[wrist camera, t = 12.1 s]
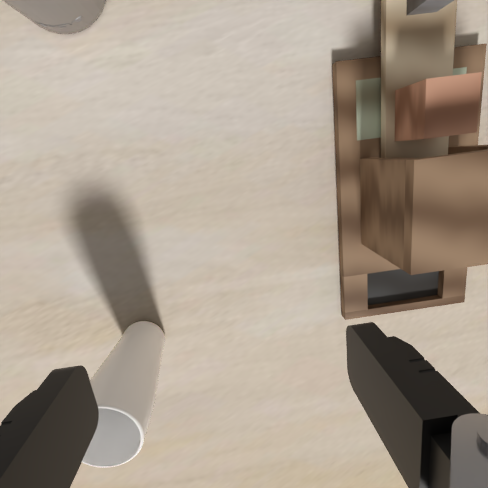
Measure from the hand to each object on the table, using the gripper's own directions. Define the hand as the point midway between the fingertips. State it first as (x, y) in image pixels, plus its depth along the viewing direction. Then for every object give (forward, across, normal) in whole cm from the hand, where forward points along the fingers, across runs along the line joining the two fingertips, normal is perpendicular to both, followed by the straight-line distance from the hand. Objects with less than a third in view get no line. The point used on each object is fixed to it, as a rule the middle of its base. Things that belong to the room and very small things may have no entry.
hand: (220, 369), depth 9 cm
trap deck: (+28, -22, +1) cm, 36 cm away
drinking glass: (+28, +12, +15) cm, 34 cm away
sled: (+26, -22, -10) cm, 36 cm away
